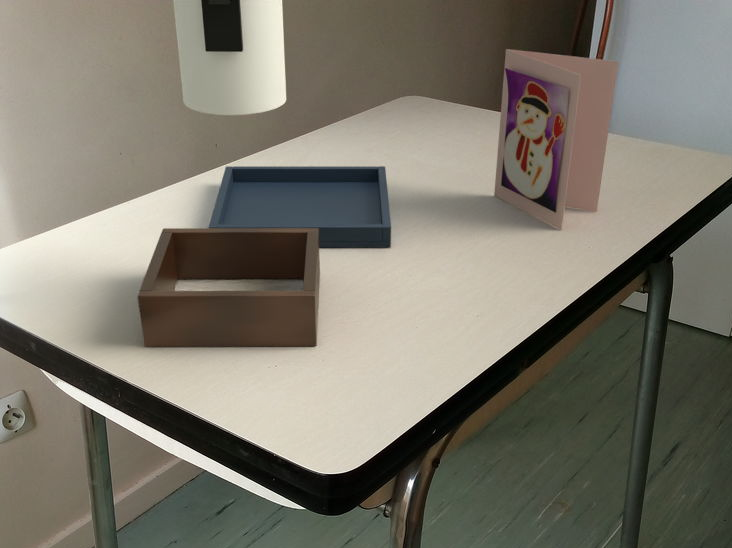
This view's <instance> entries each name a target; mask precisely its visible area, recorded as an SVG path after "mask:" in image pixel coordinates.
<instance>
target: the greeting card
mask: <svg viewBox="0 0 732 548" xmlns="http://www.w3.org/2000/svg"><path fill="white" fill-rule="evenodd" d="M618 67H619V61H618V60H609V59H599V58H591V57H582V56H573V55H563V54H554V53H546V52H538V51H527V50H520V49H519V50H518V49H508V48H506V49H505V58H504V70H503V81H502V82H503V83H502V94H501V107H500V120H499V133H498V143H497V144H498V145H497V156H496V166H495V168H496V169H495V178H494V179H495V181H494V192H493V195H494V196H495V197H497V198H498V199H500V200H502V201H505V202H506V203H509V204H510V205H512V206H514V207H515V208H518V209H520V210H522V211H524V212H526V213H528V214H530V215H531V216H532V217H534V218H537V219H539V220H541V221H542V222H545V223H546V224H548V225H550V226H552V227H554V228H556V229H559V230H560V231H562V230H563V223H564V216H565V215H564V214H565V208H571V209H578V210H583V211H589V212H595V213H596V212H598V206H599V199H600V194H601V193H600V192H601V186H602V178H603V172H604V167H605V165H604V164H605V157H606V151H607V145H608V139H609V131H610V123H611V117H612V110H613V104H614V103H613V102H614V98H615V97H614V96H615V95H614V94H615V88H616V82H617V75H618Z"/></svg>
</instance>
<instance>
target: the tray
mask: <svg viewBox="0 0 732 548" xmlns="http://www.w3.org/2000/svg"><path fill="white" fill-rule="evenodd" d="M208 228H318V229H319V249H321V248H326V249H327V248H333V249H334V248H335V249H336V248H337V249H338V248H340V249H341V248H344V249H345V248H353V249H354V248H356V249H357V248H391V247H392V222H391V212H390V203H389V191H388V182H387V171H386V166H381V165H380V166H374V165H373V166H372V165H371V166H365V165H363V166H362V165H361V166H360V165H359V166H357V165H355V166H352V165H351V166H350V165H349V166H348V165H347V166H345V165H344V166H343V165H342V166H340V165H339V166H337V165H336V166H328V165H327V166H324V165H323V166H321V165H320V166H311V165H309V166H306V165H305V166H304V165H303V166H295V165H293V166H288V165H287V166H285V165H284V166H281V165H280V166H279V165H278V166H275V165H274V166H273V165H272V166H270V165H269V166H268V165H267V166H265V165H264V166H261V165H260V166H259V165H257V166H255V165H254V166H242V165H240V166H238V165H237V166H234V165H233V166H227V165H226V166H225V169H224V172H223V176H222V179H221V182H220V186H219V189H218V193H217V197H216V200H215V203H214V207H213V211H212V215H211V218H210V221H209V224H208Z"/></svg>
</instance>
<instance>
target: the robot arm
mask: <svg viewBox="0 0 732 548" xmlns="http://www.w3.org/2000/svg"><path fill="white" fill-rule="evenodd" d="M201 3H202V15H203V27H204V38H205V50H206V52H242V51H243V38H242V23H241V7H240V0H201Z"/></svg>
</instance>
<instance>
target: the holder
mask: <svg viewBox="0 0 732 548" xmlns="http://www.w3.org/2000/svg"><path fill="white" fill-rule="evenodd" d="M320 259H321V258H320V248H319V229H318V228H209V227H208V228H205V227H203V228H202V227H201V228H200V227H199V228H197V227H196V228H194V227H193V228H191V227H190V228H185V227H184V228H181V227H180V228H178V227H177V228H175V227H174V228H173V227H170V228H169V227H168V228H167V227H165V228H162V231H161V232H160V235H159V238H158V240H157V243H156V246H155V248H154V251H153V254H152V256H151V259H150V261H149V264H148V267H147V269H146V272H145V275H144V277H143V280H142V283H141V285H140V288H139V291H138V294H137V296H136V297H137V304H138V310H139V311H138V312H139V319H140V324H141V332H142V338H143V345H144V347H146V348H147V347H148V348H149V347H152V348H153V347H154V348H155V347H156V348H157V347H159V348H161V347H163V348H164V347H167V348H168V347H177V348H178V347H183V348H184V347H316V346H317V345H318V327H319V325H318V323H319V305H320V304H319V303H320V302H319V301H320V300H319V299H320V281H321V280H320V279H321V263H320V261H321V260H320ZM267 279H268V280H277V279H278V280H285V279H286V280H296V279H298V280H299V279H300V280H303V285H302V290H175V289H176V286H177V284H178V280H267Z"/></svg>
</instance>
